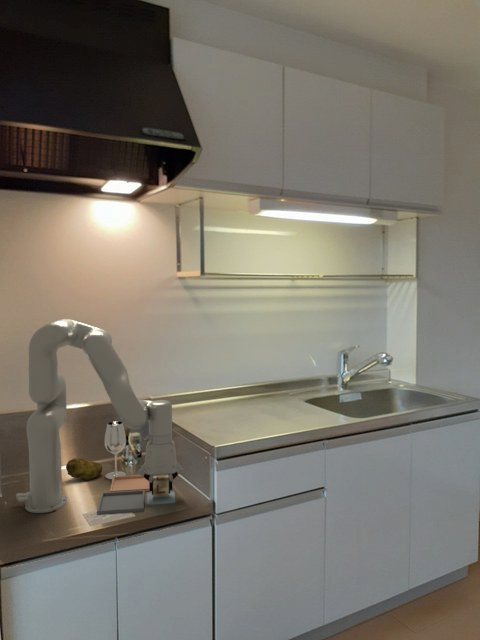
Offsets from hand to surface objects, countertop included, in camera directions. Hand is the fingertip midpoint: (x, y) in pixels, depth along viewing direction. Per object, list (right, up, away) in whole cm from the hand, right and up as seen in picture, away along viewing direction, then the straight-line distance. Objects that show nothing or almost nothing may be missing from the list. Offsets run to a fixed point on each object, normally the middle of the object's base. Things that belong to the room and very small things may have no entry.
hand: (161, 491), depth 165 cm
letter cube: (0, 0, 0) cm, 0 cm away
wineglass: (-20, -1, +21) cm, 29 cm away
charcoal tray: (-12, -3, -4) cm, 13 cm away
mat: (0, -3, 0) cm, 3 cm away
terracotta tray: (-12, -2, +11) cm, 17 cm away
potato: (-31, -2, +18) cm, 36 cm away
